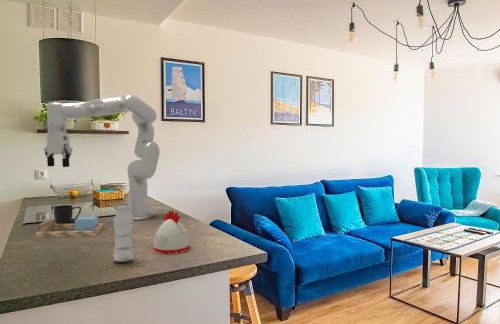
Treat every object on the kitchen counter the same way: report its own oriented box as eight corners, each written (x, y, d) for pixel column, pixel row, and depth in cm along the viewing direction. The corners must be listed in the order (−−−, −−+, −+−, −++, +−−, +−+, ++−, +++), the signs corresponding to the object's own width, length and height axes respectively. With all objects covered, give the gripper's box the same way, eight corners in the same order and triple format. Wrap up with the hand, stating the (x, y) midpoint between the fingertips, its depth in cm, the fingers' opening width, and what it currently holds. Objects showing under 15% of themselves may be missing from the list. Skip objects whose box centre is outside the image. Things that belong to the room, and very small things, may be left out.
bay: (105, 229, 170) (105, 217, 170) (95, 238, 154) (95, 224, 154) (52, 230, 168) (52, 217, 167) (36, 239, 152) (35, 225, 151)
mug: (80, 226, 176) (80, 207, 176) (53, 228, 172) (52, 208, 171) (81, 222, 184) (81, 204, 183) (55, 224, 179) (54, 205, 179)
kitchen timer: (171, 256, 132) (171, 216, 131) (145, 250, 139) (145, 212, 138) (196, 247, 143) (196, 210, 143) (171, 242, 151) (171, 206, 150)
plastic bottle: (116, 258, 129) (115, 203, 127) (135, 258, 129) (135, 203, 128) (110, 264, 122) (110, 206, 121) (131, 264, 123) (130, 206, 122)
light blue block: (98, 229, 165) (97, 216, 165) (93, 233, 159) (93, 219, 159) (79, 230, 164) (79, 216, 164) (75, 233, 158) (74, 219, 158)
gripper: (77, 129, 166) (78, 166, 167) (51, 130, 172) (52, 165, 173) (63, 129, 159) (64, 167, 160) (36, 129, 165) (38, 166, 167)
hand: (58, 166), depth 167 cm, fingers open, 9 cm apart
